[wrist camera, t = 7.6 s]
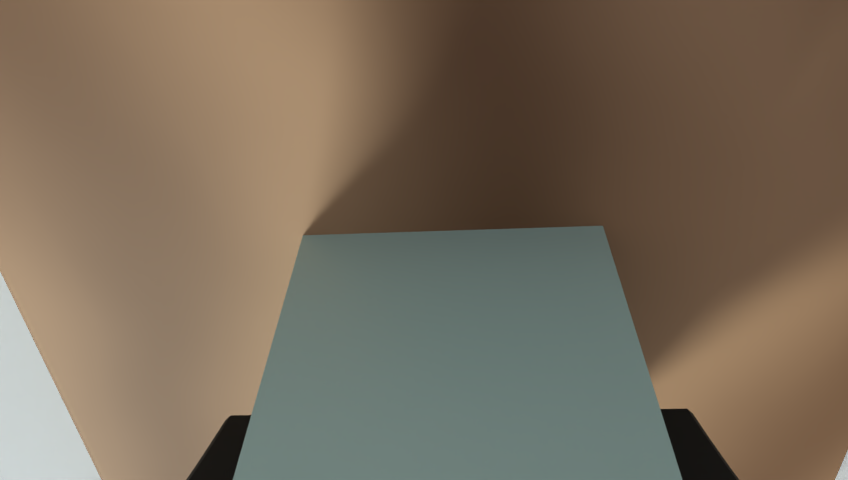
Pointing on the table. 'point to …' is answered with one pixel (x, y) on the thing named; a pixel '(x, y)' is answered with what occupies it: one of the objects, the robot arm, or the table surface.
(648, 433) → the mint green cube
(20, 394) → the table surface
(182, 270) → the stub board
